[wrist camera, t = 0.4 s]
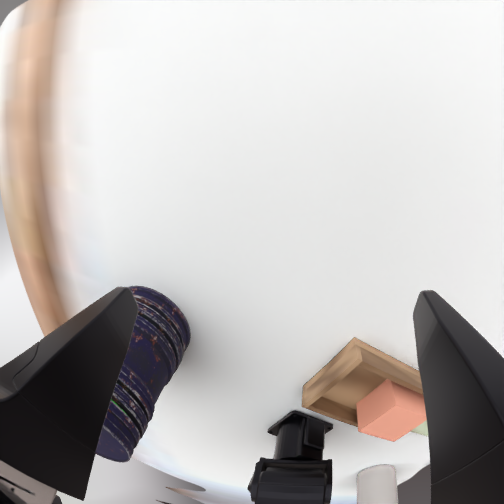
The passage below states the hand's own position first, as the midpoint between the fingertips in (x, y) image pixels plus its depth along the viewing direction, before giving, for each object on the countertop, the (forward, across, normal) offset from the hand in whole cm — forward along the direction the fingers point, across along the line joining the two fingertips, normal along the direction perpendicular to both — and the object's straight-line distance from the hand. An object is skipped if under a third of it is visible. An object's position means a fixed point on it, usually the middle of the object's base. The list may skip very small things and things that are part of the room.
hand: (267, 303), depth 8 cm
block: (+9, -11, +25) cm, 29 cm away
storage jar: (+12, +16, +16) cm, 26 cm away
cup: (+6, -16, +52) cm, 54 cm away
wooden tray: (+10, -13, +26) cm, 31 cm away
